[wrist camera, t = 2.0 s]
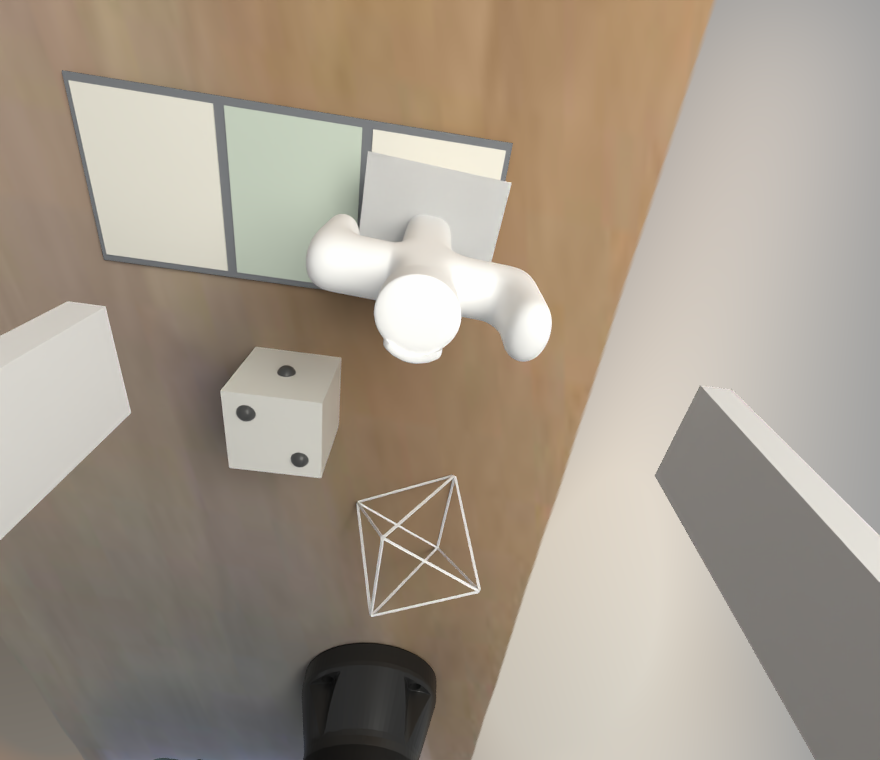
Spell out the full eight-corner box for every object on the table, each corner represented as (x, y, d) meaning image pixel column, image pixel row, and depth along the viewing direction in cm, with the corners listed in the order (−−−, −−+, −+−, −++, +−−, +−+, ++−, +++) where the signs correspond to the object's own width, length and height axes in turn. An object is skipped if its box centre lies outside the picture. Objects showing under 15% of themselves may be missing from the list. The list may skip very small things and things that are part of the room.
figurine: (357, 141, 26) (267, 172, 13) (522, 178, 26) (597, 243, 13) (345, 267, 29) (265, 394, 16) (490, 296, 30) (525, 438, 17)
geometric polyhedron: (352, 536, 42) (336, 614, 36) (361, 460, 38) (344, 534, 31) (464, 549, 43) (468, 629, 36) (485, 477, 38) (494, 553, 32)
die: (339, 425, 36) (319, 482, 30) (254, 415, 35) (219, 471, 30) (341, 351, 33) (320, 400, 27) (249, 339, 32) (208, 387, 27)
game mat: (479, 309, 31) (479, 311, 30) (106, 258, 29) (102, 259, 29) (512, 143, 26) (512, 143, 26) (65, 70, 24) (60, 70, 24)
